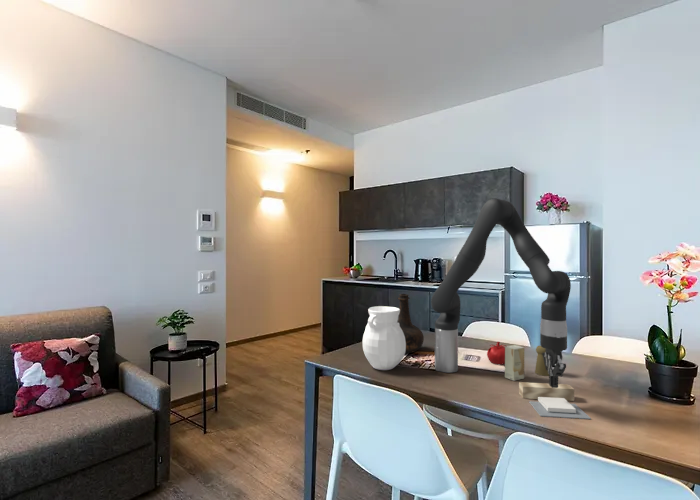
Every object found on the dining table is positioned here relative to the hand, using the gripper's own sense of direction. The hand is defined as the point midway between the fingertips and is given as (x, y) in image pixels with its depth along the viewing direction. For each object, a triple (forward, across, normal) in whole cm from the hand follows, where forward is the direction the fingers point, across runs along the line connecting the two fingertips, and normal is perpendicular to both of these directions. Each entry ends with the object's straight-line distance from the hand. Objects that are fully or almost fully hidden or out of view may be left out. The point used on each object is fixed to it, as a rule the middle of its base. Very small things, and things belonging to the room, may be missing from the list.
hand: (553, 386), depth 115 cm
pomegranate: (+6, -42, -6) cm, 43 cm away
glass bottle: (+6, -56, -47) cm, 73 cm away
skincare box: (+6, -24, -5) cm, 25 cm away
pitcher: (+6, -30, -56) cm, 64 cm away
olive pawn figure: (+6, -30, +8) cm, 32 cm away
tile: (+4, -2, 0) cm, 4 cm away
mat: (+6, +4, 0) cm, 7 cm away
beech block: (+6, -6, 0) cm, 9 cm away
